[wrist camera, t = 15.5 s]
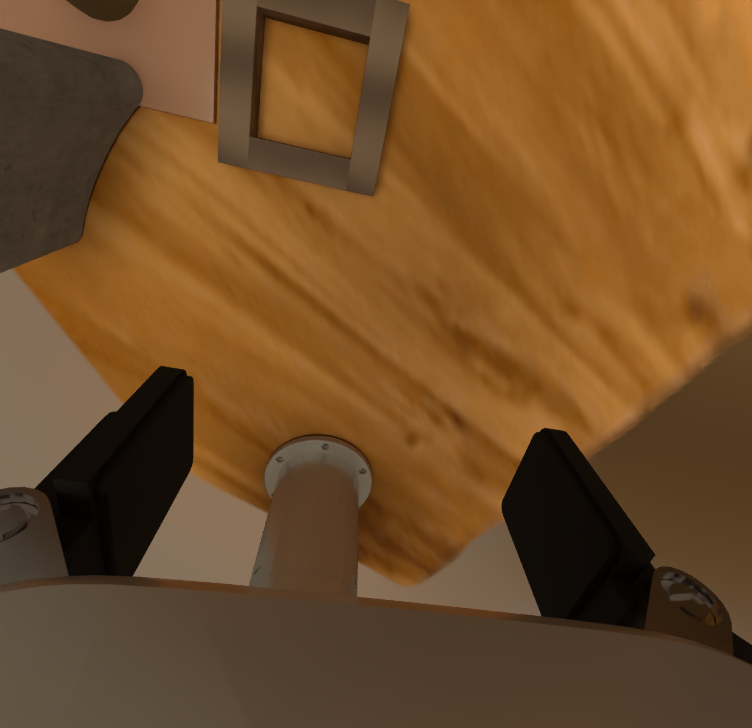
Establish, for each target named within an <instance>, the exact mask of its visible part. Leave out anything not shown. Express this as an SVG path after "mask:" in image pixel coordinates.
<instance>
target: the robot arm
mask: <svg viewBox="0 0 752 728" xmlns="http://www.w3.org/2000/svg"><path fill="white" fill-rule="evenodd" d="M193 412H194V382H193V377H191V376H187V373H186V371H185V370H183V369H177V368H171V367H164V366H160V367H159V368H158V369H157V370H156V371H155V372H154V373H153V374H152V375H151V376H150V377H149V378H148V379H147V380H146V381H145V382H144V383H143V384H142V386H141V387H140V388H139V389H138V390H137V391H136V392H135V393H134V394H133V395H132V396H131V397H130V398H129V399H128V400H127V401H126V402H125V403H124V404H123V405H122V407H121V408H120V409H119V410H118V411H117V412H110V413H109V414H108V415H107V416H105V417H104V418H103V419H102V420H101V421H100V422H99V423H98V424H97V425H96V426H95V427H94V428H93V429H92V430H91V431H90V433H89V434H88V435H86V436H85V438H84V439H83V440H82V441H81V442H80V443H79V444H78V445H77V446H76V447H75V448H74V449H73V450H72V451H71V452H70V453H69V454H68V455H67V456H66V457H65V458H64V459H63V460H62V461H61V462H60V463H59V464H58V465H57V466H56V467H55V468H54V469H53V470H52V471H51V472H50V473H49V474H48V475H47V476H46V477H45V478H44V480H43V481H41V483H40V484H39V485H38V486H37V487H36V488H35V489H33V488H27V487H9V488H4V489H0V728H752V645H751V644H749V643H748V642H746V641H745V640H743V639H742V638H740V637H739V636H737V635H736V634H734V633H733V632H732V623H731V619H730V616H729V613H728V611H727V609H726V608H725V606H724V604H723V603H722V602H721V601H720V599H719V598H718V597H717V596H716V595H715V594H714V593H713V592H712V591H711V590H710V589H709V588H708V587H707V586H706V585H704V584H703V583H702V582H700V581H699V580H698V579H696V578H694V577H693V576H692V575H690V574H688V573H686V572H684V571H682V570H680V569H676V568H673V567H668V566H661V567H659V568H656V569H654V567H653V566H652V564H651V563H650V561H651V560H652V559H653V557H654V556H655V554H654V552H653V551H652V550H651V548H650V547H649V545H648V544H647V543H646V542H645V540H644V538H643V537H642V536H641V534H640V533H639V532H638V530H637V529H636V528H635V526H634V525H633V523H632V522H631V520H630V519H629V518H628V516H627V515H626V514H625V512H624V511H623V509H622V508H621V507H620V505H619V504H618V502H617V501H616V500H615V498H614V497H613V496H612V494H611V493H610V491H609V490H608V489H607V487H606V486H605V484H604V483H603V482H602V480H601V479H600V478H599V476H598V475H597V473H596V472H595V471H594V469H593V468H592V467H591V465H590V464H589V462H588V461H587V460H586V458H585V457H584V455H583V454H582V453H581V451H580V450H579V448H578V447H577V446H576V444H575V443H574V442H573V440H572V439H571V437H570V436H569V435H568V433H566V432H565V431H561V430H555V429H549V428H544V429H542V430H541V431H540V432H536V433H535V434H534V436H533V437H532V440H531V442H530V444H529V446H528V448H527V450H526V452H525V454H524V456H523V458H522V461H521V463H520V465H519V467H518V469H517V471H516V473H515V475H514V477H513V479H512V482H511V484H510V486H509V488H508V490H507V492H506V494H505V496H504V498H503V501H502V513H503V516H504V519H505V522H506V524H507V527H508V529H509V532H510V535H511V537H512V540H513V542H514V545H515V547H516V550H517V553H518V555H519V558H520V561H521V563H522V566H523V569H524V571H525V574H526V576H527V579H528V582H529V584H530V587H531V589H532V592H533V595H534V597H535V600H536V603H537V605H538V607H539V610H540V613H541V616H533V615H524V614H515V613H506V612H497V611H488V610H479V609H469V608H460V607H451V606H441V605H431V604H422V603H412V602H402V601H393V600H383V599H373V598H364V597H357V570H358V569H357V568H358V508H359V507H360V506H361V505H363V504H364V502H365V501H366V499H367V498H368V496H369V494H370V491H371V486H372V473H371V469H370V465H369V463H368V461H367V460H366V458H365V457H364V456H363V454H362V453H361V452H360V451H359V450H357V449H356V448H355V447H354V446H352V445H350V444H349V443H347V442H345V441H342V440H339V439H337V438H333V437H328V436H305V437H301V438H297V439H294V440H291V441H289V442H287V443H285V444H284V445H282V446H281V447H280V448H278V449H277V450H276V451H275V452H274V453H273V455H272V456H271V457H270V459H269V461H268V463H267V467H266V470H265V475H264V483H265V488H266V490H267V493H268V495H269V496H270V498H271V499H272V501H271V505H270V508H269V512H268V516H267V520H266V523H265V528H264V531H263V535H262V538H261V542H260V546H259V550H258V554H257V557H256V561H255V565H254V569H253V572H252V577H251V580H250V584H249V586H242V585H232V584H221V583H210V582H197V581H184V580H172V579H160V578H148V577H133V575H134V573H135V571H136V569H137V567H138V566H139V564H140V562H141V560H142V558H143V556H144V554H145V553H146V551H147V549H148V547H149V545H150V543H151V542H152V540H153V538H154V536H155V534H156V533H157V531H158V529H159V527H160V525H161V523H162V522H163V520H164V518H165V516H166V514H167V512H168V511H169V508H170V507H171V505H172V503H173V501H174V499H175V497H176V496H177V494H178V492H179V490H180V488H181V486H182V485H183V483H184V481H185V479H186V477H187V476H188V474H189V472H190V470H191V467H192V463H193Z"/></svg>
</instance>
